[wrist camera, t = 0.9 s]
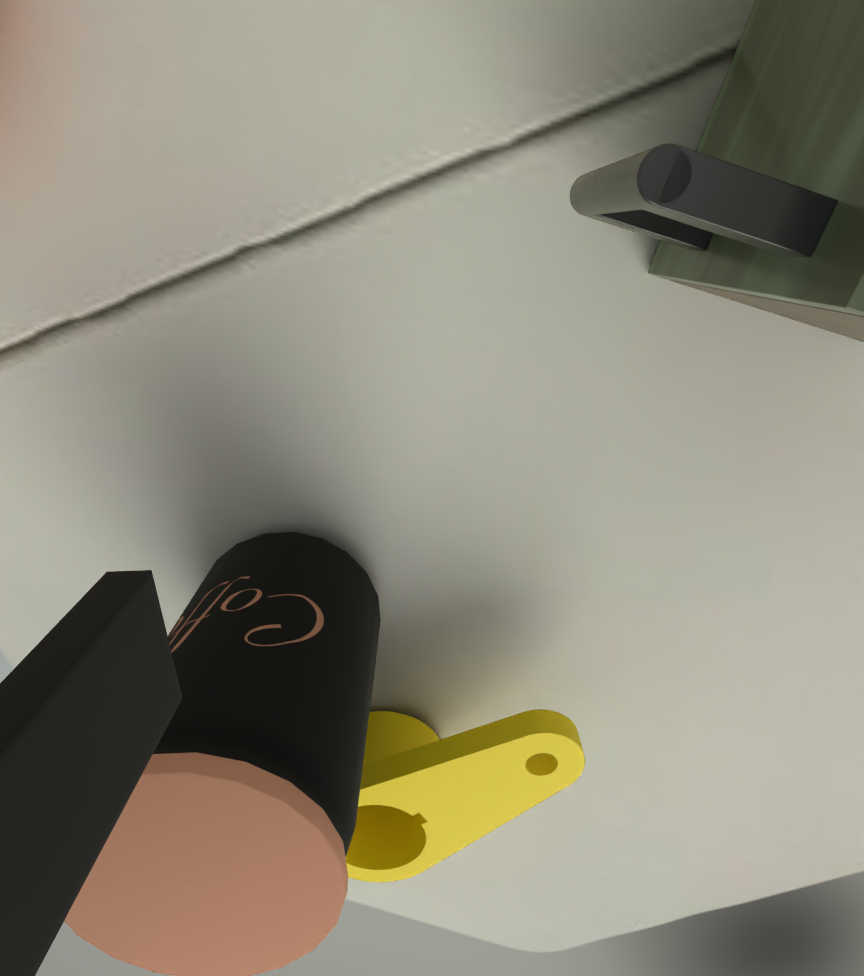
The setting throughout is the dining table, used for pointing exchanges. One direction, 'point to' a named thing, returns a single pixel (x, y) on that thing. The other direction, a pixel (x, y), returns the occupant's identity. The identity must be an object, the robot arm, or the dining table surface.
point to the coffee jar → (246, 771)
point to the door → (761, 168)
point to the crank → (452, 786)
